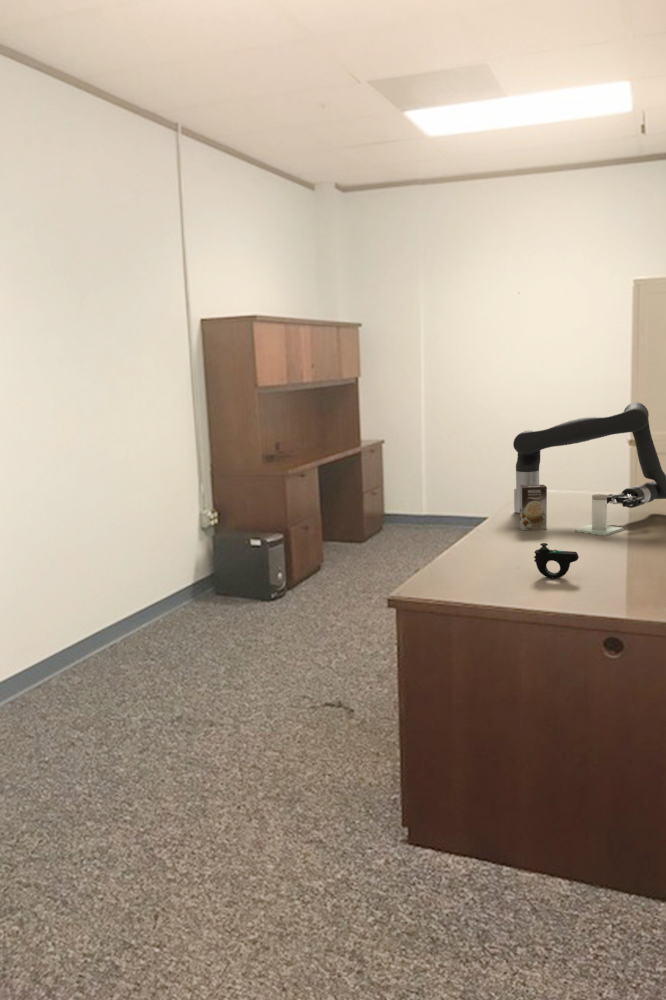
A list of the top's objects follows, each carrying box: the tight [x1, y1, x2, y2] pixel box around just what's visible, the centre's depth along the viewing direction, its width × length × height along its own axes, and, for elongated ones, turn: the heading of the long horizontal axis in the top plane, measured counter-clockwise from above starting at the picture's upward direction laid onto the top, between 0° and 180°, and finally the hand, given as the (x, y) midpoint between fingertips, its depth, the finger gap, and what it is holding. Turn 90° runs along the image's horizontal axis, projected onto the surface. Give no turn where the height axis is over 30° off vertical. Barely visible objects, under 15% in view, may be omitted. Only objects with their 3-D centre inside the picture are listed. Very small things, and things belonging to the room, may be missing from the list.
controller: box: [533, 542, 580, 580], centre depth 228 cm, size 4×12×10 cm, turn 65°
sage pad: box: [574, 523, 624, 537], centre depth 285 cm, size 12×12×1 cm
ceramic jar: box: [591, 493, 608, 530], centre depth 284 cm, size 5×5×12 cm
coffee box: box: [519, 484, 548, 531], centre depth 294 cm, size 9×6×16 cm
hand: (612, 502), depth 289 cm, fingers open, 8 cm apart
